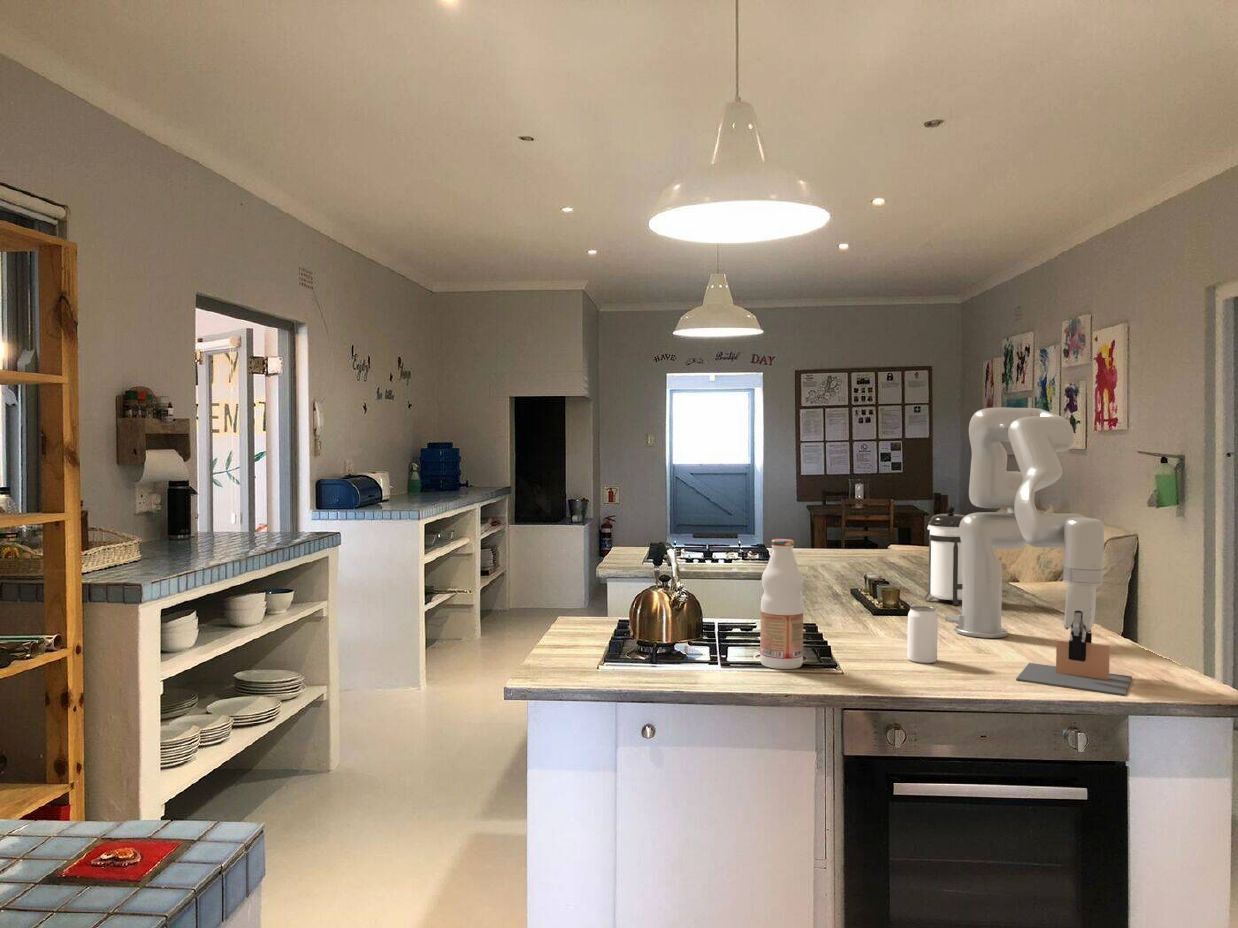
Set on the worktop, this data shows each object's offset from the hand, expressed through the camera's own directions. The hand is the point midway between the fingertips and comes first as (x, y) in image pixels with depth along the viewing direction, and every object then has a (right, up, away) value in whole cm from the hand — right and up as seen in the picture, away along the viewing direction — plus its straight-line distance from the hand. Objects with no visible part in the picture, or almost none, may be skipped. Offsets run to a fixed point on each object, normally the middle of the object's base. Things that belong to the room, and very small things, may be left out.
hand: (1080, 655), depth 191 cm
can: (-29, -4, +13) cm, 32 cm away
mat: (-2, -5, -2) cm, 6 cm away
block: (0, -4, -1) cm, 4 cm away
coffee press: (+6, -2, +87) cm, 87 cm away
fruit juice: (-62, -4, +9) cm, 63 cm away
